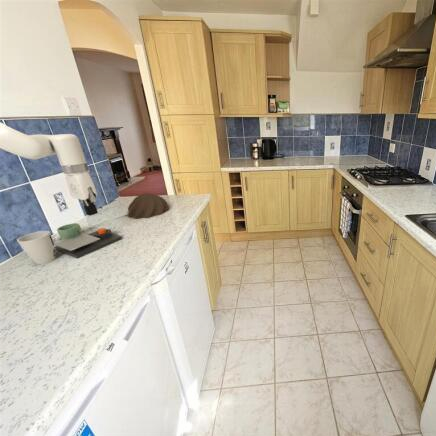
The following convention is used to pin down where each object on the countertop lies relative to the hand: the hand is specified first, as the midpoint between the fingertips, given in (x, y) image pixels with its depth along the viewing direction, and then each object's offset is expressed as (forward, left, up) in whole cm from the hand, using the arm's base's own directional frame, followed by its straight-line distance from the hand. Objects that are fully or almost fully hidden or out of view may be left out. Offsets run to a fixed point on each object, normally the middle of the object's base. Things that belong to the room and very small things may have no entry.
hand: (92, 214), depth 98 cm
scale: (+1, -5, -11) cm, 12 cm away
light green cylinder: (-12, -5, -11) cm, 17 cm away
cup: (-1, -18, -12) cm, 22 cm away
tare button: (+1, +1, -9) cm, 9 cm away
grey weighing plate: (+1, -8, -8) cm, 12 cm away
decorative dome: (-10, +29, -12) cm, 33 cm away
